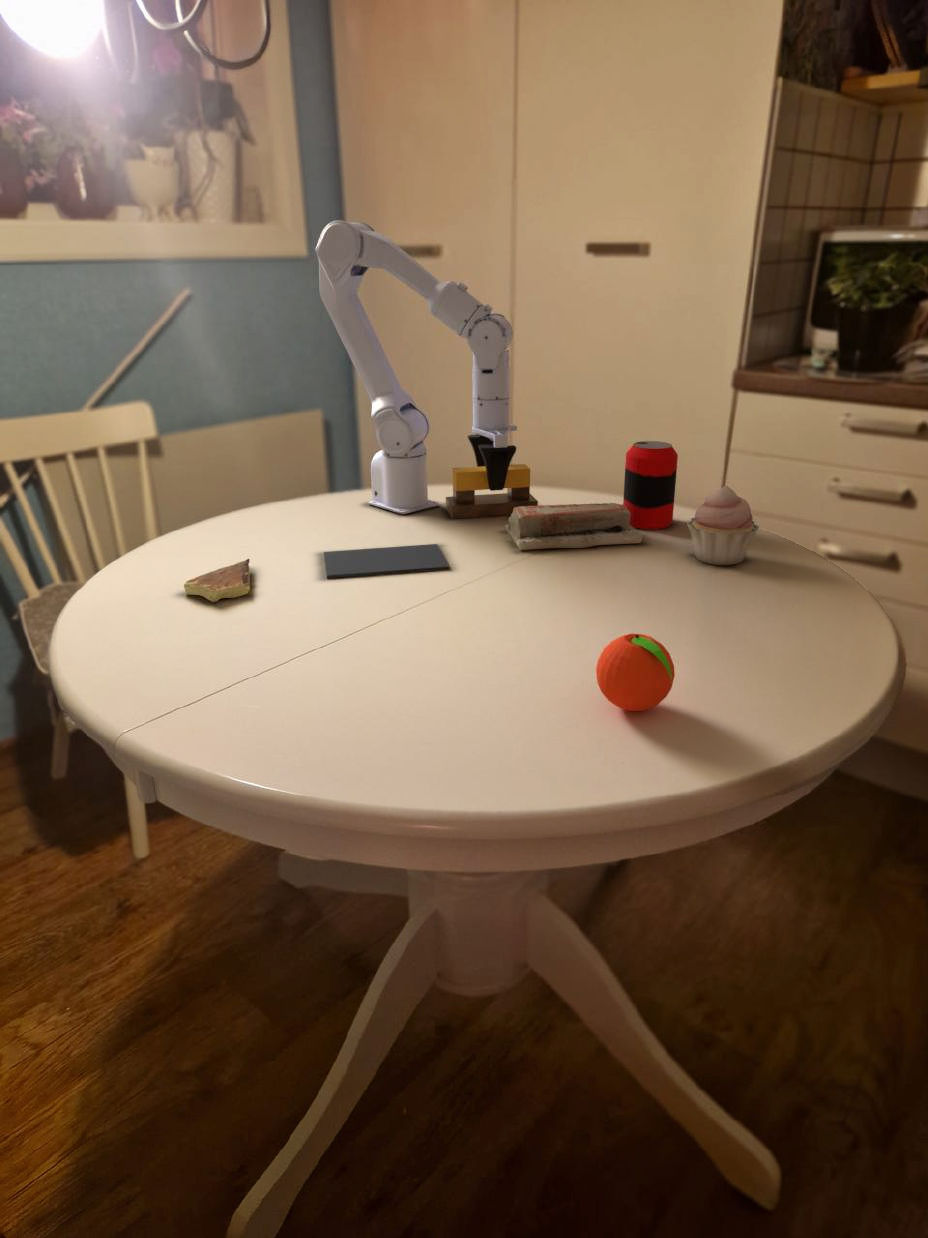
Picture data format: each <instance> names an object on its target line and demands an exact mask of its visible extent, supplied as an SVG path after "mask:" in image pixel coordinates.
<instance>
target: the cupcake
mask: <svg viewBox="0 0 928 1238" xmlns="http://www.w3.org/2000/svg"><path fill="white" fill-rule="evenodd" d="M686 525H687V527H688V530H689V532H690V534H691V539H692V543H693V550H694V557H695V558H696V559H697V560H698V561H700V562H702V563H705V564H710V565H714V566H733V565H738V564H740V563H742V562H743V561H744V559H745V557H746V554H747V551H748V549H749V547H750V544H751V541H752V539H753V538H754V536H755V534H756V533H757V532H758V530H759V529H760V526H759V525H758V524H755V521H754V520H753V514H752V509H751V507H750V504H749V502H748V501H747V500H746V499H745V498H743V497H741V496H738V495H737V493H736V492H735V491H734V490H733V489H732V488H731V487H729V486H728V485H724V486H723V487H721V488H720V489H718V490H715V491H713V492H712V493H710V494H708V495H707V496H706V497H705V499H704V502H703V503H702V504H700V505H699V506H698V507H697V508H696V510H695V513H694V517H691V518H690V520H688V521H686Z"/></svg>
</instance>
